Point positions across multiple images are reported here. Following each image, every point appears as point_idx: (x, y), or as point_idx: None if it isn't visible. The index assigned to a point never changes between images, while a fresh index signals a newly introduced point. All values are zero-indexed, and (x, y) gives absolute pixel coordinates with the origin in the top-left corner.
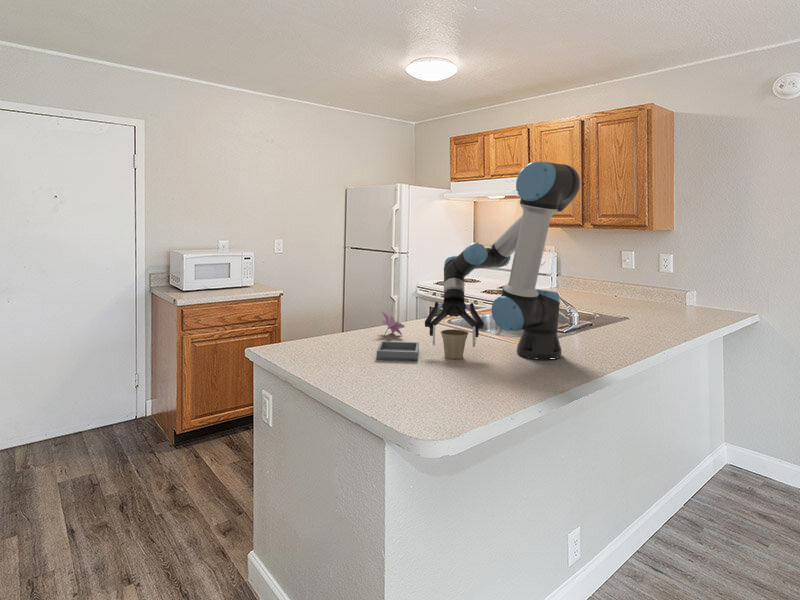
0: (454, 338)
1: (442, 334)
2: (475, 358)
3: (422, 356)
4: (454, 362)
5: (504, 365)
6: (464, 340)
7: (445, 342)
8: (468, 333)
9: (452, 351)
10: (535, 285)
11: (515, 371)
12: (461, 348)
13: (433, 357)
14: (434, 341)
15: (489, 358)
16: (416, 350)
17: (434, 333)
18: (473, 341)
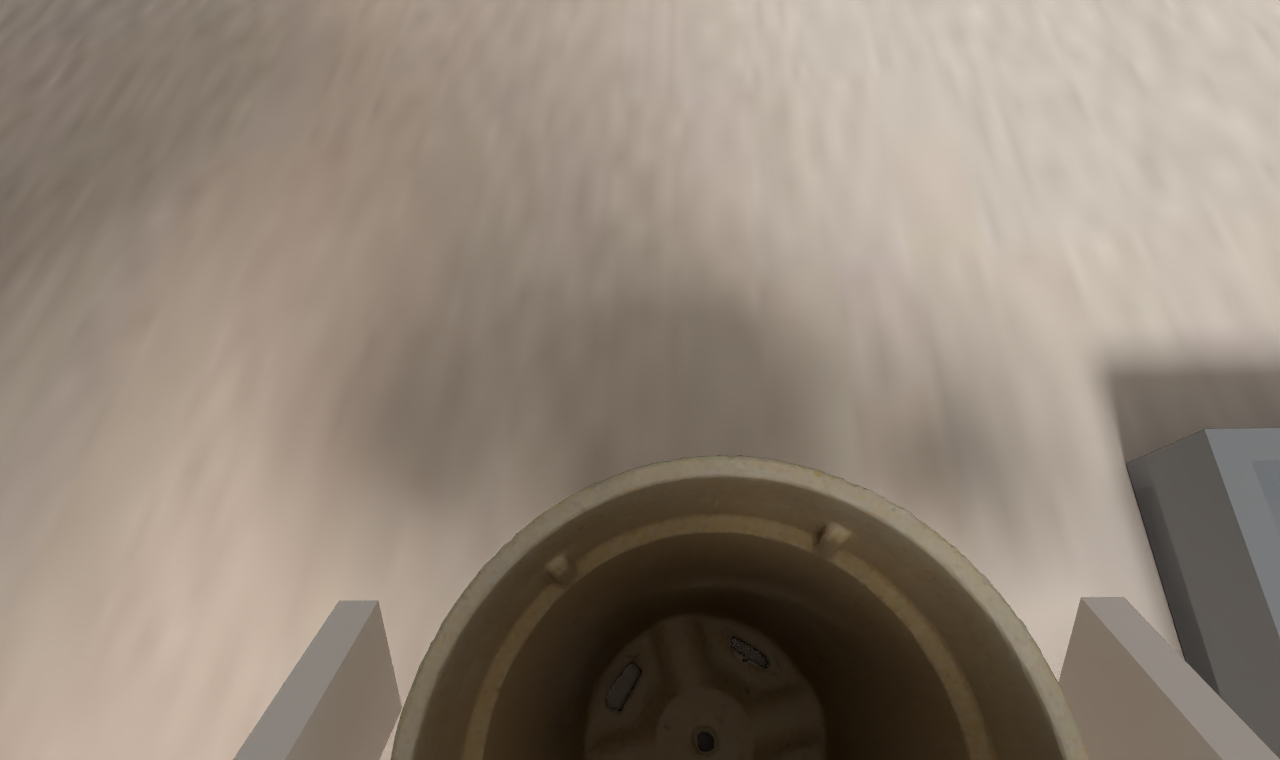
0: (722, 500)
1: (1006, 625)
2: None
3: None
4: None
5: (170, 434)
6: (526, 641)
7: (877, 625)
8: (391, 757)
9: (731, 587)
10: None
11: (149, 263)
12: (596, 615)
13: None
14: (1087, 604)
15: (235, 723)
16: (1259, 521)
17: (1231, 751)
18: (367, 617)
